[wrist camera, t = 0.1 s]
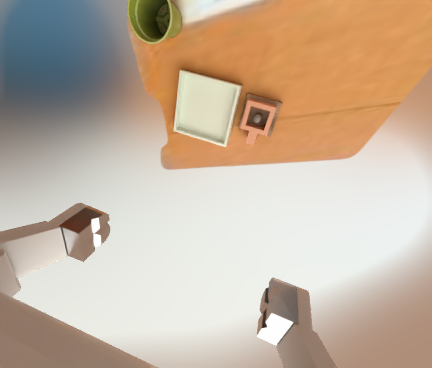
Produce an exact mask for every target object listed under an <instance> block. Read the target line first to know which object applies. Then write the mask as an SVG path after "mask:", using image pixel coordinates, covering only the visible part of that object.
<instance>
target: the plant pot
mask: <svg viewBox="0 0 432 368" xmlns="http://www.w3.org/2000/svg"><path fill="white" fill-rule="evenodd" d="M127 6H128V7H127V13H128V19H129V22H130V25H131V28H132V30H133V31H134V33H135V34H136V35H137V36H138V37H139V38H140V39H141V40H142V41H144V42H146V43H149V44H156V43H159V42H161V41H163V40H164V39H165V38H172V37H175V36H176V35H178V33H179V32H180V30H181V26H182V17H181V13H180V11H179V10H178V8H177V7H176V6H175V5H174V4H173V3H172V2H171V1H170V0H128V5H127ZM163 8H165V10H164V11H163V12H162V13H161V11H162V9H163ZM168 19H169V20H170V22H168ZM160 26H162V28H163V29H164V32H163V30H162V29H161V27H160Z"/></svg>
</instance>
